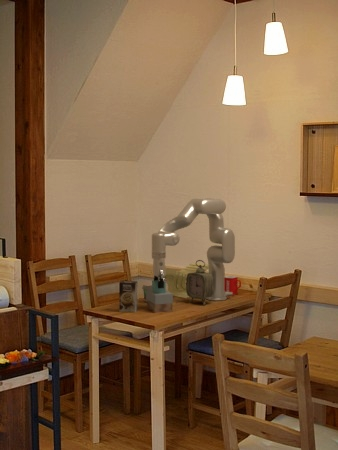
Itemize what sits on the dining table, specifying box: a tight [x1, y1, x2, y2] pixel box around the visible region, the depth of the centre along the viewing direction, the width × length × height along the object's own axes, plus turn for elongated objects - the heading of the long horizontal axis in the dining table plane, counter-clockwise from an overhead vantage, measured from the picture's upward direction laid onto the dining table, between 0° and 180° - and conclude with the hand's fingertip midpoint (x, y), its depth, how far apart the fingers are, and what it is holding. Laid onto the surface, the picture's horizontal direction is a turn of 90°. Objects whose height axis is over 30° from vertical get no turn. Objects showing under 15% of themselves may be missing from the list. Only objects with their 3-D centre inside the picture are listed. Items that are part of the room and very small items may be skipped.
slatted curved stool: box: [164, 262, 209, 299], centre depth 404 cm, size 30×16×18 cm, turn 136°
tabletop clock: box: [185, 259, 214, 306], centre depth 378 cm, size 14×9×25 cm, turn 45°
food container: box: [141, 284, 152, 304], centre depth 381 cm, size 12×6×10 cm, turn 112°
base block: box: [146, 300, 174, 314], centre depth 363 cm, size 10×16×5 cm, turn 17°
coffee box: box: [118, 280, 138, 313], centre depth 358 cm, size 9×6×16 cm
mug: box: [225, 275, 242, 296], centre depth 405 cm, size 12×8×11 cm
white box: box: [146, 290, 174, 305], centre depth 363 cm, size 10×16×5 cm, turn 21°
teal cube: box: [151, 280, 167, 293], centre depth 362 cm, size 6×6×6 cm
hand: (158, 286), depth 362 cm, fingers open, 9 cm apart
